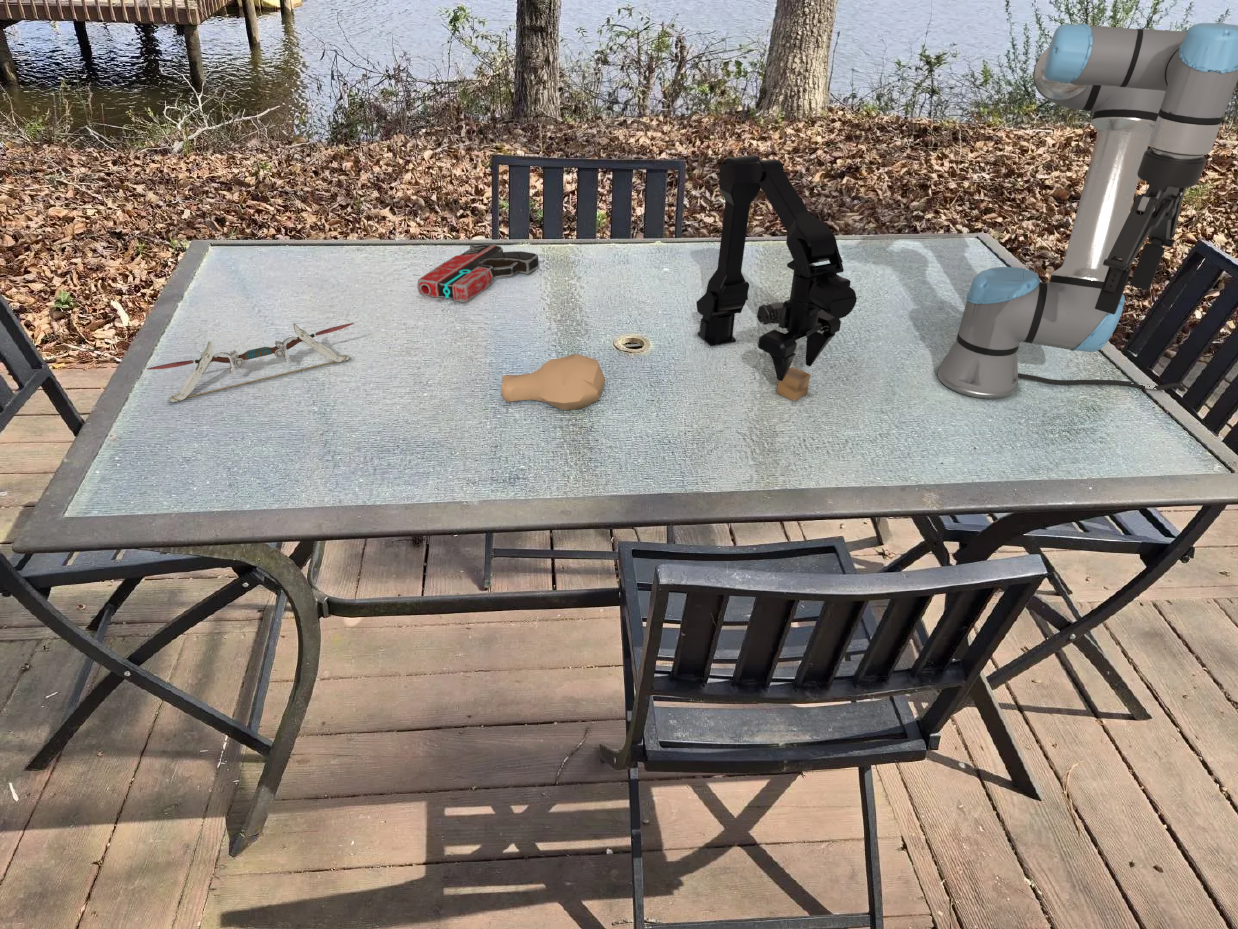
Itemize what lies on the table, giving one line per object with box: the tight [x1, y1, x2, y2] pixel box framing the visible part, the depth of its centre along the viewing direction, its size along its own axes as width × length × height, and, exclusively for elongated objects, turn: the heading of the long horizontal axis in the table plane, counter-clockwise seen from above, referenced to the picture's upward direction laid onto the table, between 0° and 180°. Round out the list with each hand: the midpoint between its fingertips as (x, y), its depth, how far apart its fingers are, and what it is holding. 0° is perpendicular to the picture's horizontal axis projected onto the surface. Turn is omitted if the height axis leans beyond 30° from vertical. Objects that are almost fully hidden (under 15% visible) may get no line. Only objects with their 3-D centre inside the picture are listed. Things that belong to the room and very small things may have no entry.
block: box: [776, 366, 811, 402], centre depth 172 cm, size 4×4×4 cm
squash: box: [500, 353, 606, 411], centre depth 166 cm, size 11×20×9 cm, turn 90°
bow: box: [146, 322, 355, 403], centre depth 169 cm, size 39×2×10 cm, turn 124°
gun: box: [416, 243, 540, 303], centre depth 216 cm, size 4×31×19 cm
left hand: (794, 372), depth 170 cm, fingers open, 9 cm apart
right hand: (1122, 298), depth 130 cm, fingers open, 13 cm apart
